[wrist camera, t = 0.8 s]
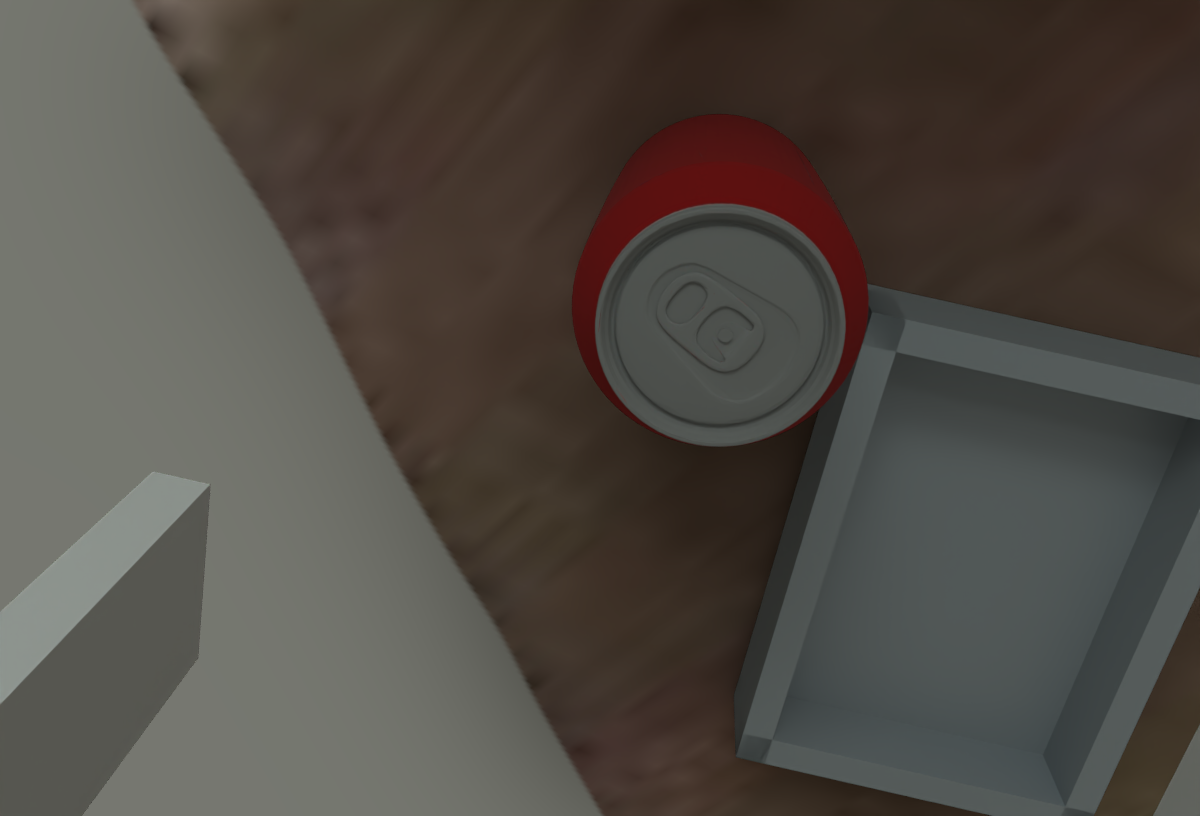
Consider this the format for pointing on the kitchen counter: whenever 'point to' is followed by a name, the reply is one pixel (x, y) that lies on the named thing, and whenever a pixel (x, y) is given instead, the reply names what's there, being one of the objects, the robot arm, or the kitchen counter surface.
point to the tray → (979, 562)
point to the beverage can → (719, 286)
